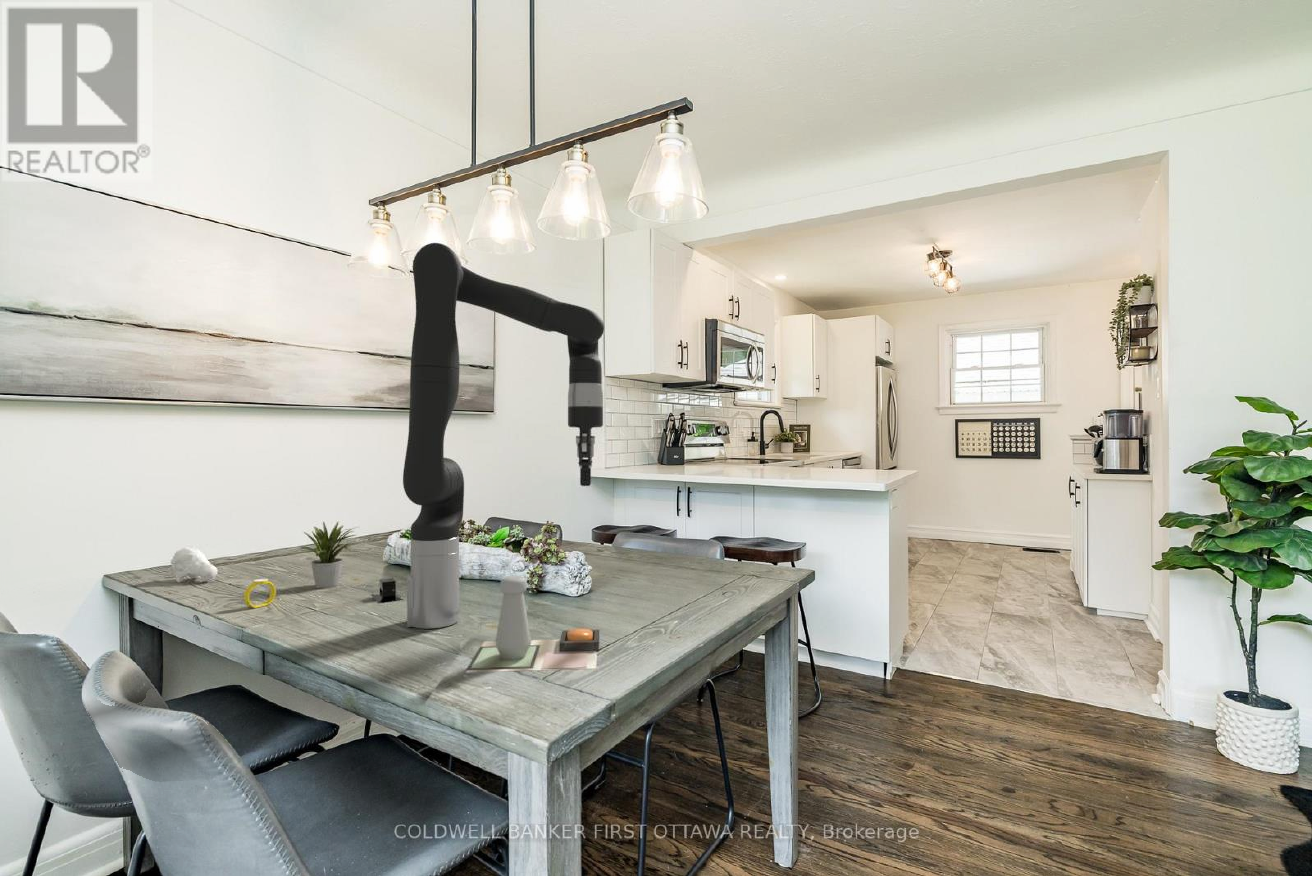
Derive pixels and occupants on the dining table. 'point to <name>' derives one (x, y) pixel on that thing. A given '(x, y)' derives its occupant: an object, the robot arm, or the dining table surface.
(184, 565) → the white fluffy lump
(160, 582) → the dining table surface
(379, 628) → the dining table surface
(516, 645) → the salt shaker
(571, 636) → the button
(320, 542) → the house plant
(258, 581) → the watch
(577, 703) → the dining table surface
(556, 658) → the picture board
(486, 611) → the dining table surface
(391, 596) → the black short block
